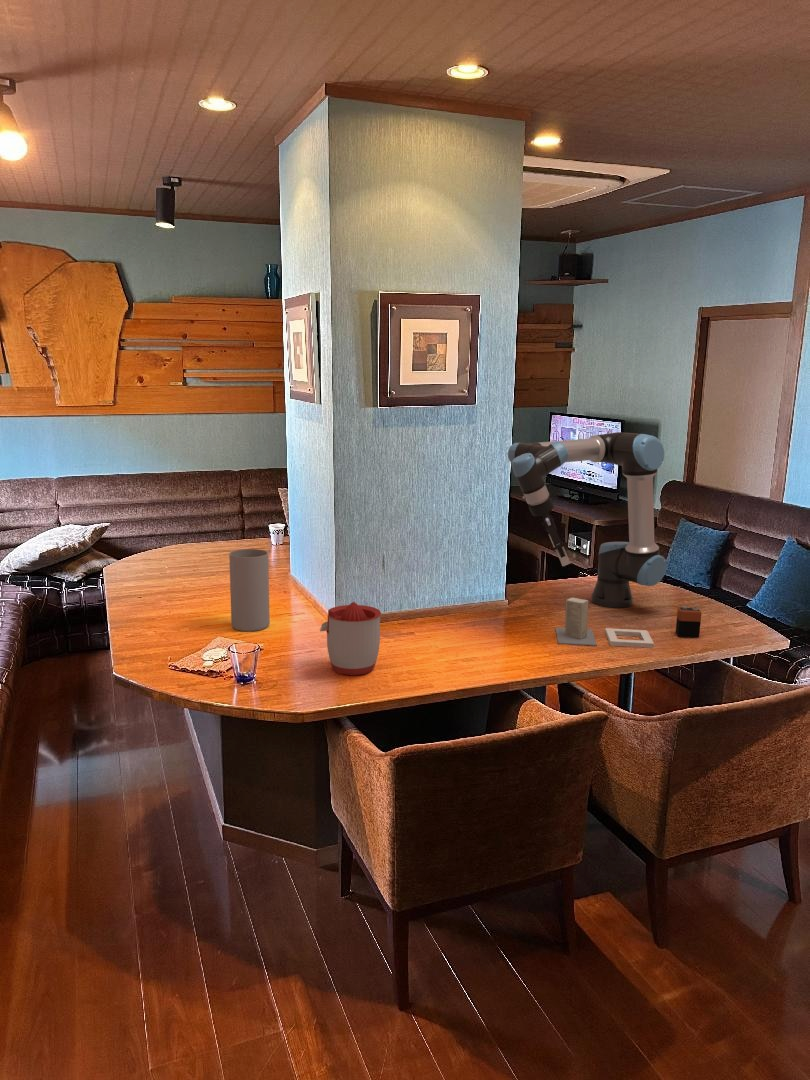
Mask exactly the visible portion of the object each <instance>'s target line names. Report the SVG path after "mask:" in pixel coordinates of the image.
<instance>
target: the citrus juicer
mask: <svg viewBox="0 0 810 1080" xmlns="http://www.w3.org/2000/svg"><path fill="white" fill-rule="evenodd" d="M381 615H382V612H381V610H380V609H379V608H377V607H374V606H370V605H363V604H358V603H357V602H356V601H352V602H350V603H349V604H346V605H338V606H333V607H330V608H329V609H328V611H327V621H325V622H323V623H322V624H321V626H320V628H319V632H325V631H326V642H327V643H326V647H327V653H328V658H329V660H330V665H331V668H332V669H333V671H335V672H336V673H338V674H339V675H347V676H349V675H351V676H358V675H359V676H360V675H365V674H368V673H370V672H372V671H373V670H374V668H375V667H376V663H377V659H378V657H379V650H380V643H381V636H380V635H381Z"/></svg>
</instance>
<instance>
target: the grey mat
mask: <svg viewBox="0 0 810 1080" xmlns="http://www.w3.org/2000/svg"><path fill="white" fill-rule="evenodd" d="M554 630H555V633H556V634H557V635H556V634H555V635H556V638H557V644H558V645H563V644H569V645H568V646H581V645H590V646H589V647H597V646H598V645H597V644H598V643H597V640H596V637H595V634H594V632H593V629H592V628H587V636H586V637H584V638H582V639H579V638H574V637H570V636H566V635H565V627H558V626H557V627H555V628H554Z"/></svg>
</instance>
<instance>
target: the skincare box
mask: <svg viewBox="0 0 810 1080" xmlns="http://www.w3.org/2000/svg"><path fill="white" fill-rule="evenodd" d="M564 617H565V618H564V620H565V621H564V628H565V635H566V636H570V637H574V638H579V639H582V638H584V637H586V636H587V629H588V623H589V622H588V619H589V600H587V599H583V598H578V597H577V598H576V597H574V596H573V597H569V598H568V599H565V615H564Z"/></svg>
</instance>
